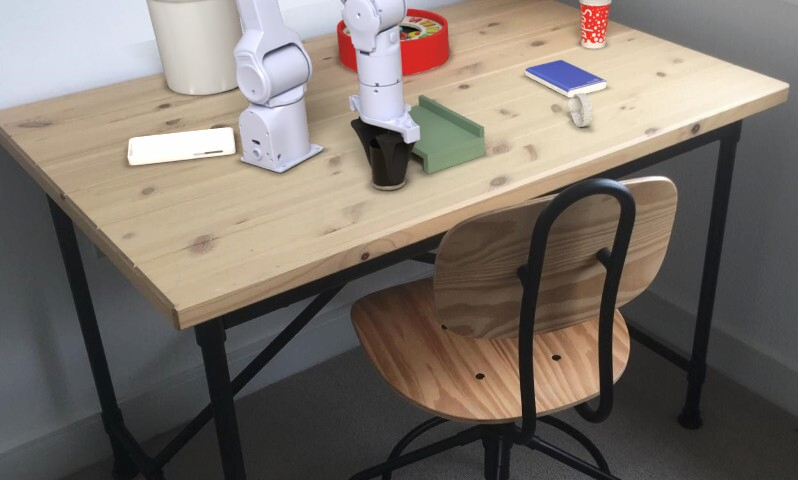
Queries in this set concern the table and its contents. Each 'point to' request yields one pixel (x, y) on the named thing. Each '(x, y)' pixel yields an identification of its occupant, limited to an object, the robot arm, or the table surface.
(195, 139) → the phone case
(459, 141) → the shelf
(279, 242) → the table surface
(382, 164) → the cylinder
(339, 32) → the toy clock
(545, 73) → the hard drive
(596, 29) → the beverage cup
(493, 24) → the table surface
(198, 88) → the utensil holder
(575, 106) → the wristwatch
